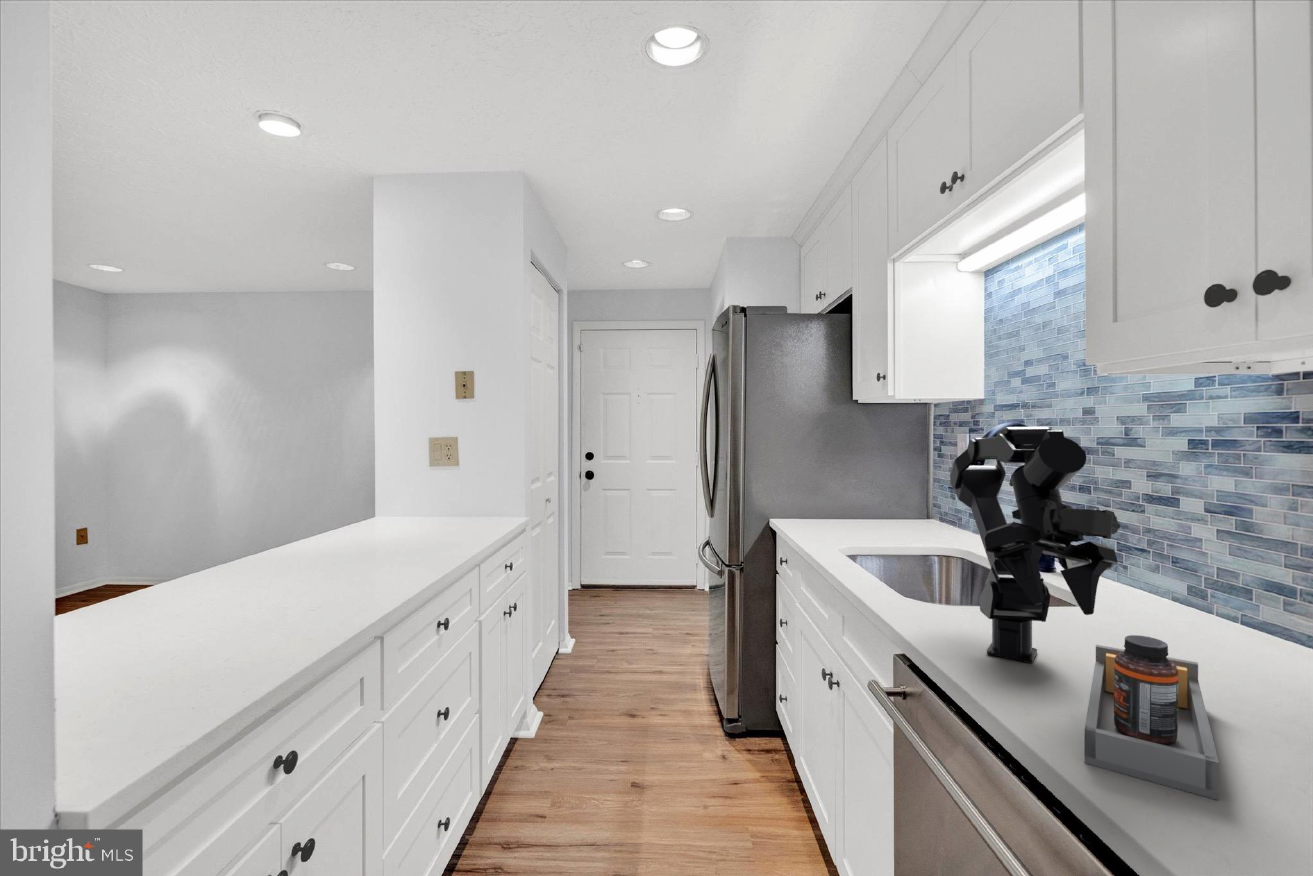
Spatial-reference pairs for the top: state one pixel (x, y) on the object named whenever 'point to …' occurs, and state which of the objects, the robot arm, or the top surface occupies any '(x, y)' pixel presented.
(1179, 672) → the pusher
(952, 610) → the top surface
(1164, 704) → the supplement bottle
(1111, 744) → the tray
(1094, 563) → the robot arm
